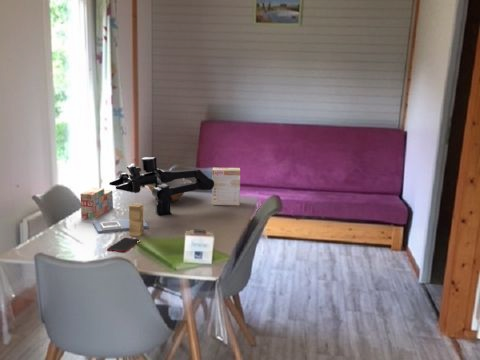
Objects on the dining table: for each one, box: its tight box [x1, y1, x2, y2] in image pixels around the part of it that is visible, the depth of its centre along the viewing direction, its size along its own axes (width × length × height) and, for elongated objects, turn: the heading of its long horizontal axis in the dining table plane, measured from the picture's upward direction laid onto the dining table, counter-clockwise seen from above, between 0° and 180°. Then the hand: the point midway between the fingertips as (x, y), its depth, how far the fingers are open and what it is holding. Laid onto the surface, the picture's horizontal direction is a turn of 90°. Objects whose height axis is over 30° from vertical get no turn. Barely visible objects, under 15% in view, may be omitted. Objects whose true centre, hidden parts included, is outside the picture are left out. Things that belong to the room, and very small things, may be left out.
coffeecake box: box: [211, 167, 241, 206], centre depth 261 cm, size 15×7×20 cm, turn 92°
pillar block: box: [128, 202, 145, 237], centre depth 207 cm, size 4×4×13 cm
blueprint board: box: [92, 217, 149, 234], centre depth 219 cm, size 22×14×2 cm, turn 116°
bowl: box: [146, 178, 192, 202], centre depth 267 cm, size 25×25×10 cm
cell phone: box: [106, 237, 140, 254], centre depth 194 cm, size 8×15×1 cm, turn 165°
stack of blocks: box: [80, 187, 114, 220], centre depth 237 cm, size 21×6×12 cm, turn 169°
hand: (112, 185), depth 224 cm, fingers open, 9 cm apart
